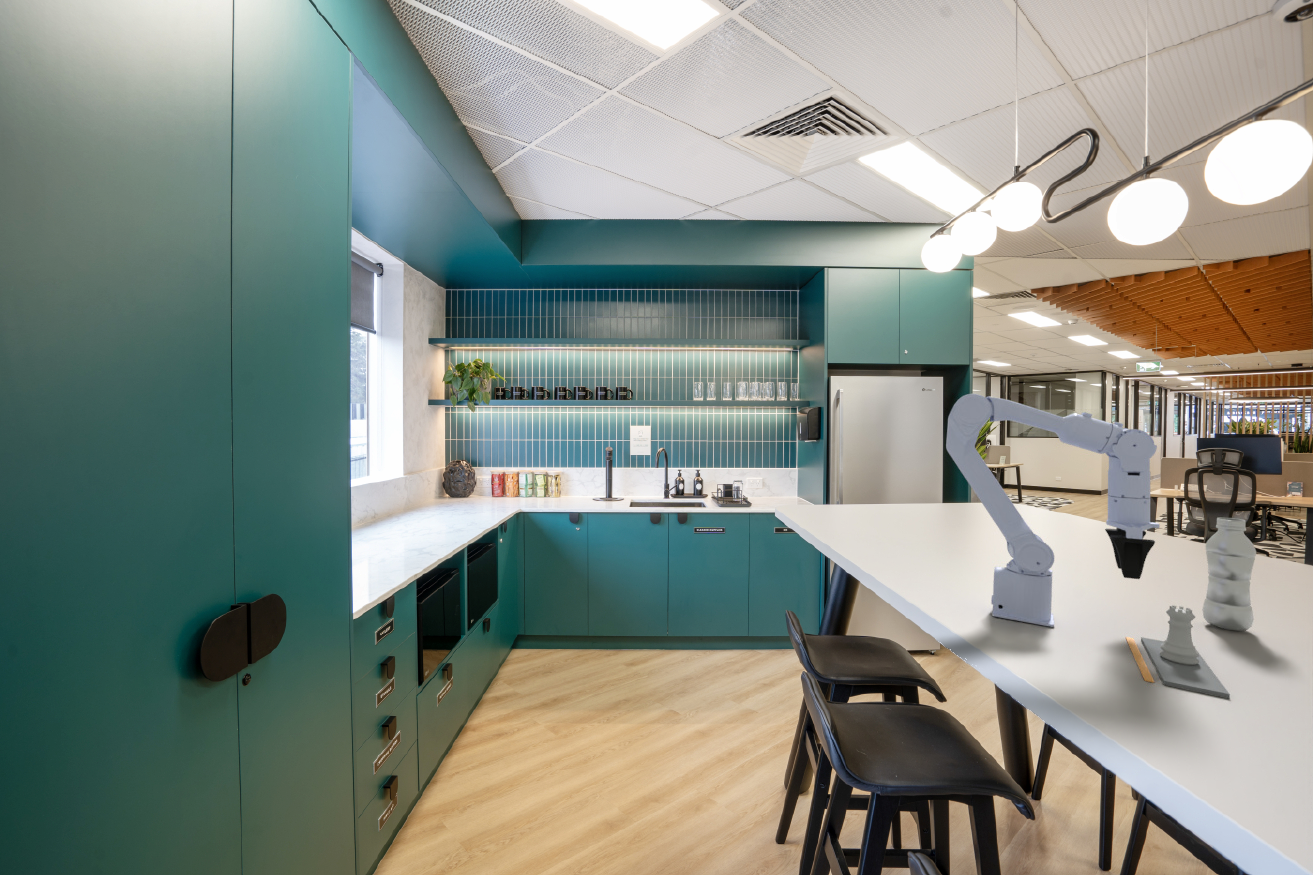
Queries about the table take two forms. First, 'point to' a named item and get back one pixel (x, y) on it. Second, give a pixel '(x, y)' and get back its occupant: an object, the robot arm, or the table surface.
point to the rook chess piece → (1180, 638)
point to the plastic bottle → (1229, 576)
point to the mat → (1184, 672)
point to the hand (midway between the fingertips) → (1128, 573)
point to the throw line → (1139, 660)
